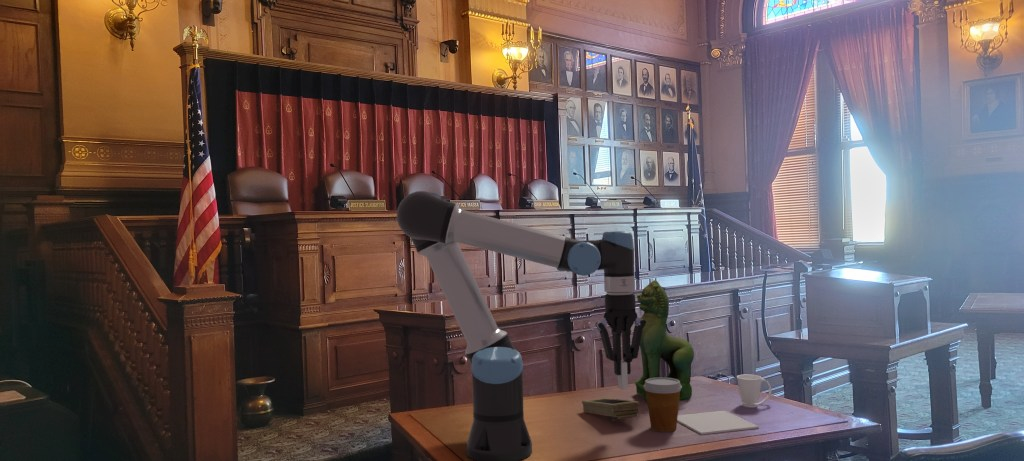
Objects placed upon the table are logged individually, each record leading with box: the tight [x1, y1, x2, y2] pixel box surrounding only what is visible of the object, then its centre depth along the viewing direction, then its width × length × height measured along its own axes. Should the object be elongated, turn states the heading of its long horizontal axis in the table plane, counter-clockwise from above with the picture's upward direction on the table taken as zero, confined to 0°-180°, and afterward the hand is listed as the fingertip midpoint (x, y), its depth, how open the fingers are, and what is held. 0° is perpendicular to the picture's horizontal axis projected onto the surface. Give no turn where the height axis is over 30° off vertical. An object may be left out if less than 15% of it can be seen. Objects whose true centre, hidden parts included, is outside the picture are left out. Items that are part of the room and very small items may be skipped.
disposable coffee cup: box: [644, 377, 682, 433], centre depth 182 cm, size 10×10×12 cm
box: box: [581, 397, 640, 422], centre depth 194 cm, size 8×22×5 cm, turn 21°
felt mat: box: [677, 410, 759, 436], centre depth 186 cm, size 16×16×1 cm
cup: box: [736, 373, 773, 408], centre depth 202 cm, size 7×10×8 cm
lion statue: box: [634, 279, 695, 402], centre depth 214 cm, size 14×17×35 cm
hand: (623, 387), depth 179 cm, fingers closed
